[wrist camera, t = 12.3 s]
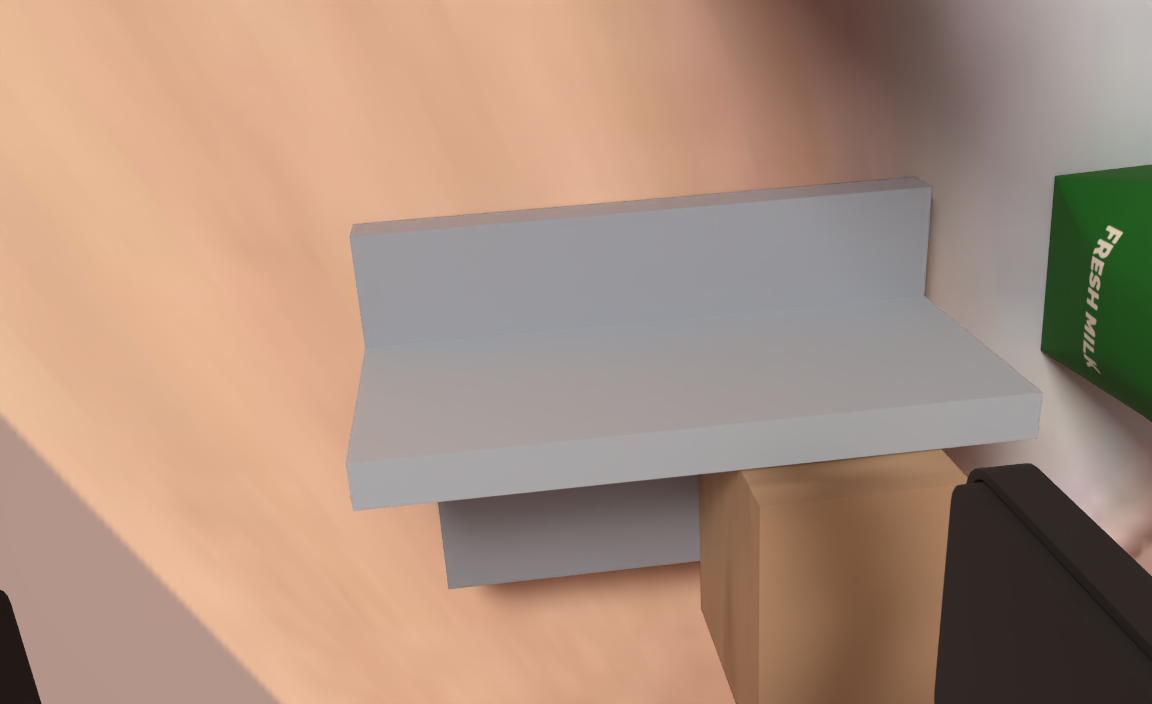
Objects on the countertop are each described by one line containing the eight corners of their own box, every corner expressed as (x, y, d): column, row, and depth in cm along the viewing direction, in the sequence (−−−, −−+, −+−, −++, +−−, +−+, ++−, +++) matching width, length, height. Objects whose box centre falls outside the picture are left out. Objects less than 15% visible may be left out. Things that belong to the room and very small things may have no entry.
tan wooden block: (868, 369, 38) (972, 483, 30) (857, 606, 42) (947, 758, 34) (697, 386, 37) (760, 506, 30) (701, 624, 41) (758, 783, 34)
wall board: (914, 176, 40) (1058, 260, 30) (895, 481, 44) (1014, 633, 35) (353, 224, 38) (324, 328, 29) (396, 535, 43) (384, 710, 34)
